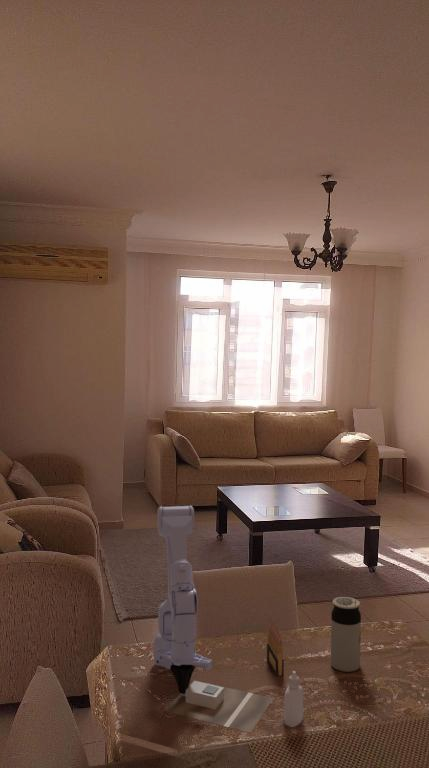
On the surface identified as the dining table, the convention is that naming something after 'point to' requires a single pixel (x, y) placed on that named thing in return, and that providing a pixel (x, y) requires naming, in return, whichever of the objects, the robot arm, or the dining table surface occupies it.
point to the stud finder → (204, 695)
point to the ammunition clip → (275, 650)
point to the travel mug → (345, 634)
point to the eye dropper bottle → (293, 702)
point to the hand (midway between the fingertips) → (183, 691)
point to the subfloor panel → (226, 709)
